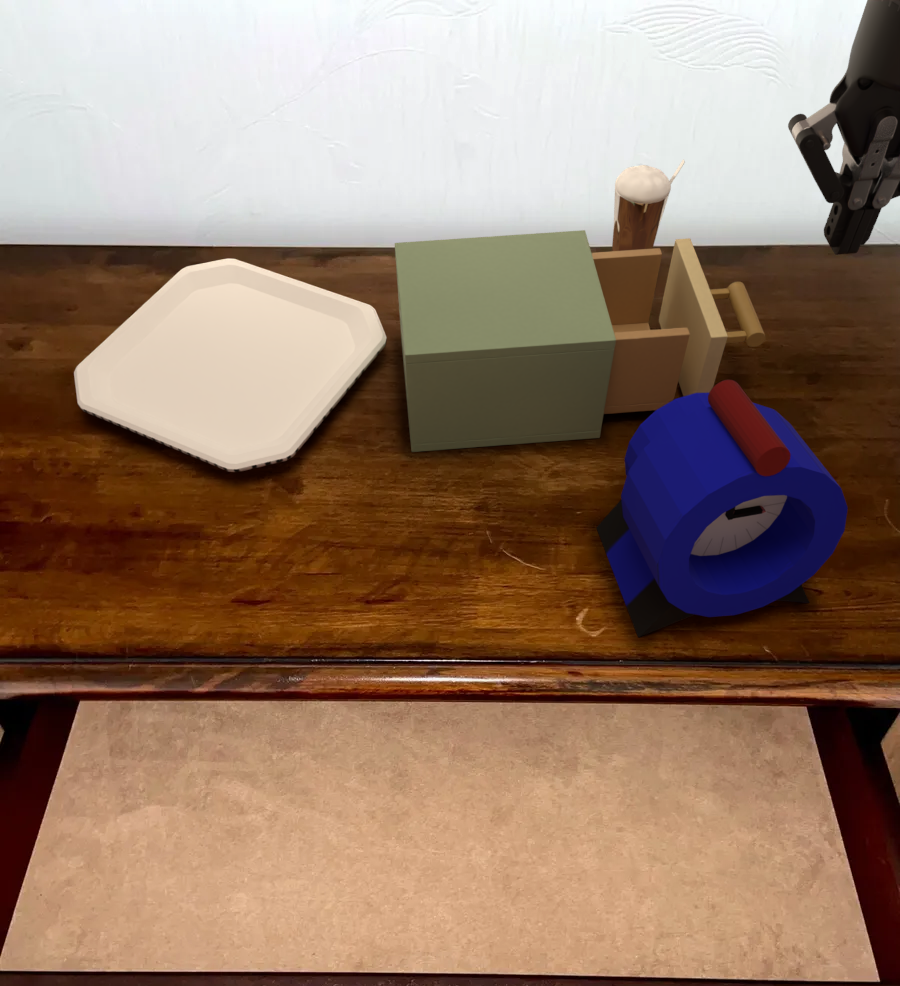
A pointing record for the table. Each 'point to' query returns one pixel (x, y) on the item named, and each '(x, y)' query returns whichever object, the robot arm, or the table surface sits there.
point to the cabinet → (503, 340)
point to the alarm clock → (718, 511)
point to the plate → (231, 364)
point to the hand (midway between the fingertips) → (841, 247)
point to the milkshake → (639, 206)
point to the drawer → (666, 327)
